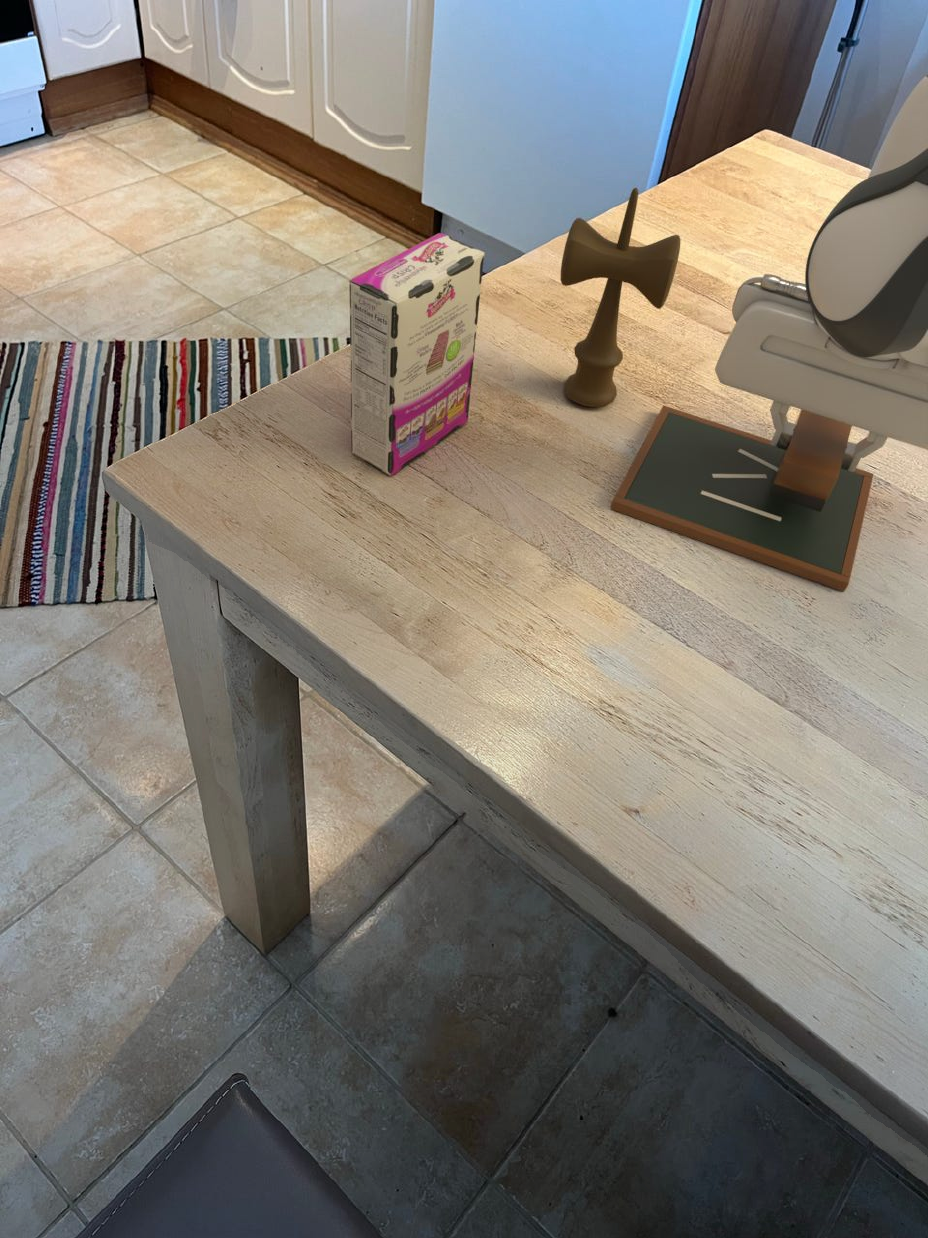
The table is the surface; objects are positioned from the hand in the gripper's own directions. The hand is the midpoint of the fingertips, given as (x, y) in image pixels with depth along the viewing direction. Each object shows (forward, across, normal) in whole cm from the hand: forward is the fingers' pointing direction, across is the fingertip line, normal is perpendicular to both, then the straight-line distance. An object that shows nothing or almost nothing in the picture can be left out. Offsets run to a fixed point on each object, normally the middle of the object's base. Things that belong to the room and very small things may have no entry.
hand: (812, 455), depth 81 cm
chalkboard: (+5, -4, -2) cm, 6 cm away
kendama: (+5, -21, +5) cm, 22 cm away
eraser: (+2, 0, 0) cm, 2 cm away
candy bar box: (+5, -33, -10) cm, 35 cm away
